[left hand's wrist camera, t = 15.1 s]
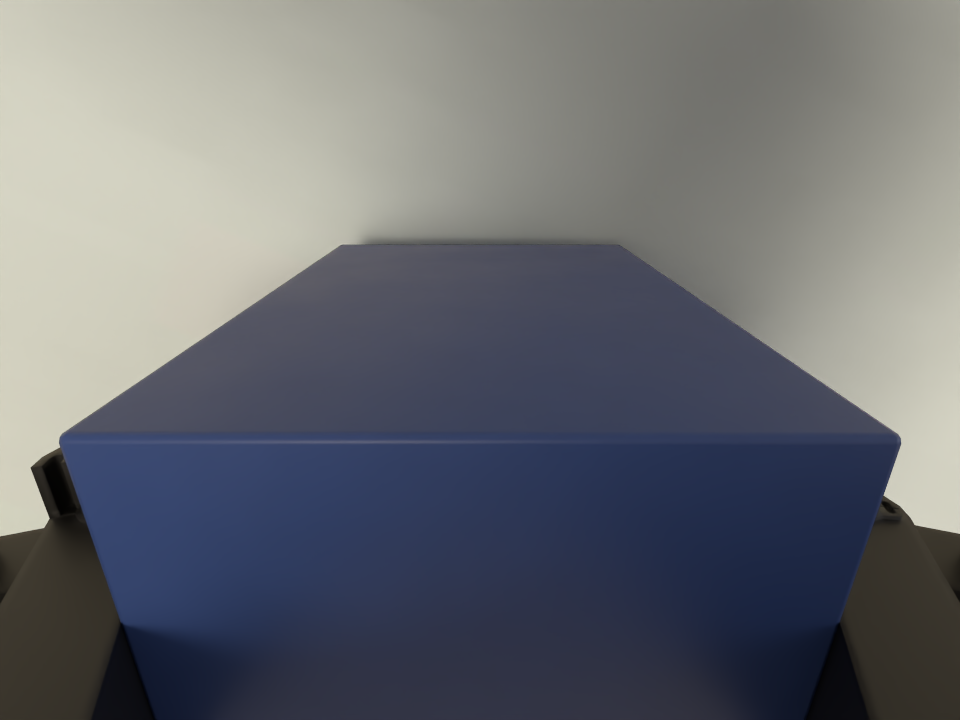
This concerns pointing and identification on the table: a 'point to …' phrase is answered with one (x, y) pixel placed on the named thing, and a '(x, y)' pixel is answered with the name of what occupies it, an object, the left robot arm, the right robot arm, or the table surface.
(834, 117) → the table surface
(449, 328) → the box
